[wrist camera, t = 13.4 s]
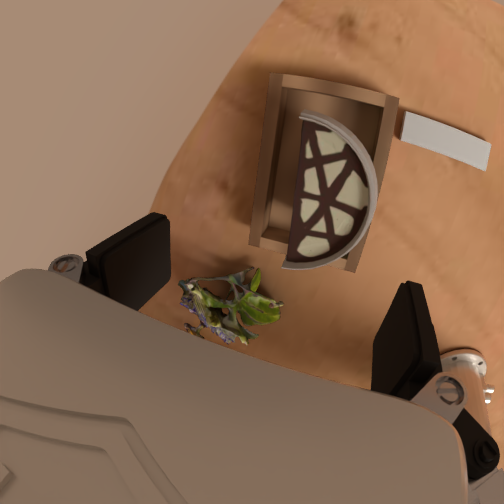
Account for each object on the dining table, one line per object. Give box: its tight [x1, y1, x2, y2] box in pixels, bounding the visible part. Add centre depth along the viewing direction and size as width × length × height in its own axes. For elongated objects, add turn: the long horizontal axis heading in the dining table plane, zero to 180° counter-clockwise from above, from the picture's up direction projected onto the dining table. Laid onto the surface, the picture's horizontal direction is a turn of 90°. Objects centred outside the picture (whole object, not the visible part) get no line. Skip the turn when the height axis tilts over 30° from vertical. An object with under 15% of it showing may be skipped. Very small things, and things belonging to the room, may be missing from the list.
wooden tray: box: [248, 72, 399, 273], centre depth 27 cm, size 11×17×4 cm, turn 173°
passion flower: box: [178, 267, 283, 345], centre depth 35 cm, size 11×11×12 cm
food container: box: [281, 109, 378, 270], centre depth 23 cm, size 12×6×10 cm, turn 176°
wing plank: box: [399, 111, 491, 171], centre depth 22 cm, size 10×3×2 cm, turn 84°
